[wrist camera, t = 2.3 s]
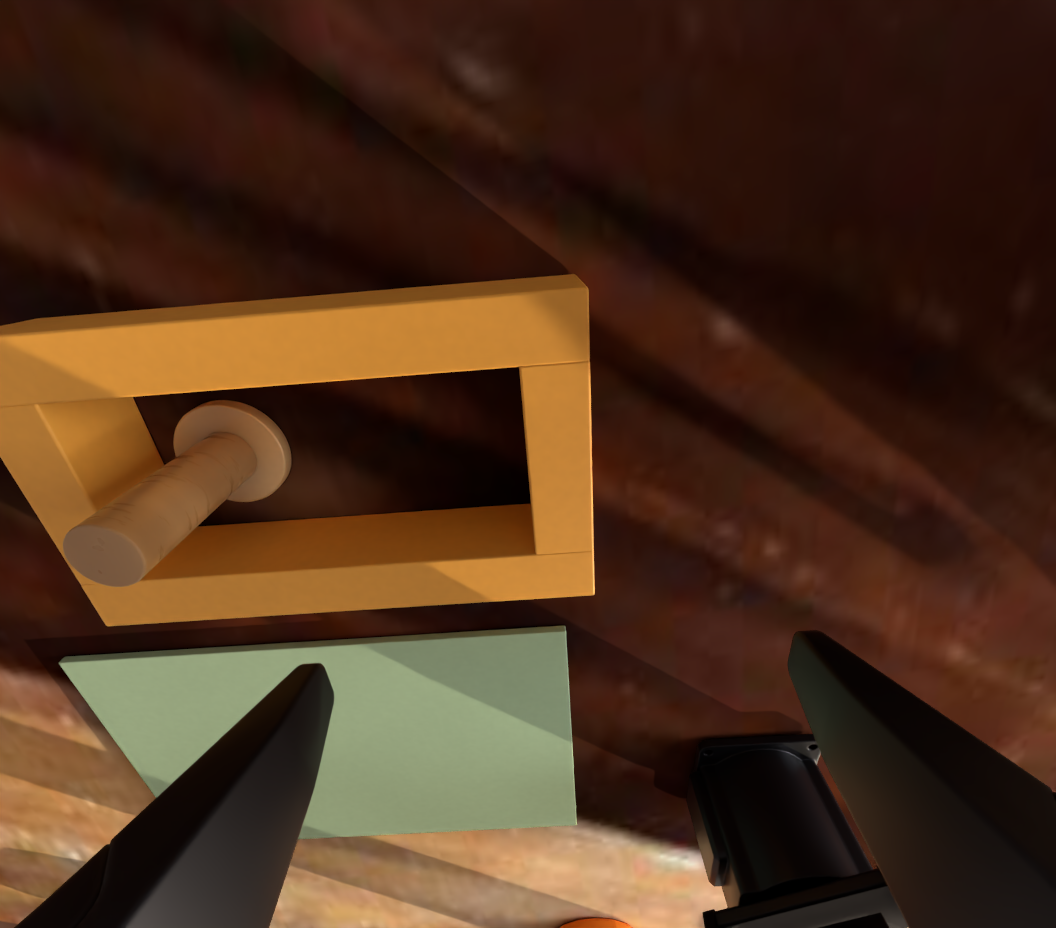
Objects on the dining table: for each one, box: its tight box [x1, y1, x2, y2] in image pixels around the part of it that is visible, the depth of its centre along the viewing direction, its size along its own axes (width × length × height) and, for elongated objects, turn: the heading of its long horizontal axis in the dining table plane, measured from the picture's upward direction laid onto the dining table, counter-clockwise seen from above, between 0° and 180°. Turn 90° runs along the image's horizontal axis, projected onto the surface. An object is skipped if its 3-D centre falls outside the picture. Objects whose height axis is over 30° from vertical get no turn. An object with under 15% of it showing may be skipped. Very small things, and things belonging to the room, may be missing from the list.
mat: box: [59, 626, 577, 839], centre depth 26 cm, size 24×16×1 cm, turn 94°
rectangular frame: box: [0, 274, 595, 626], centre depth 17 cm, size 18×10×3 cm, turn 94°
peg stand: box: [63, 400, 291, 587], centre depth 15 cm, size 4×4×7 cm
